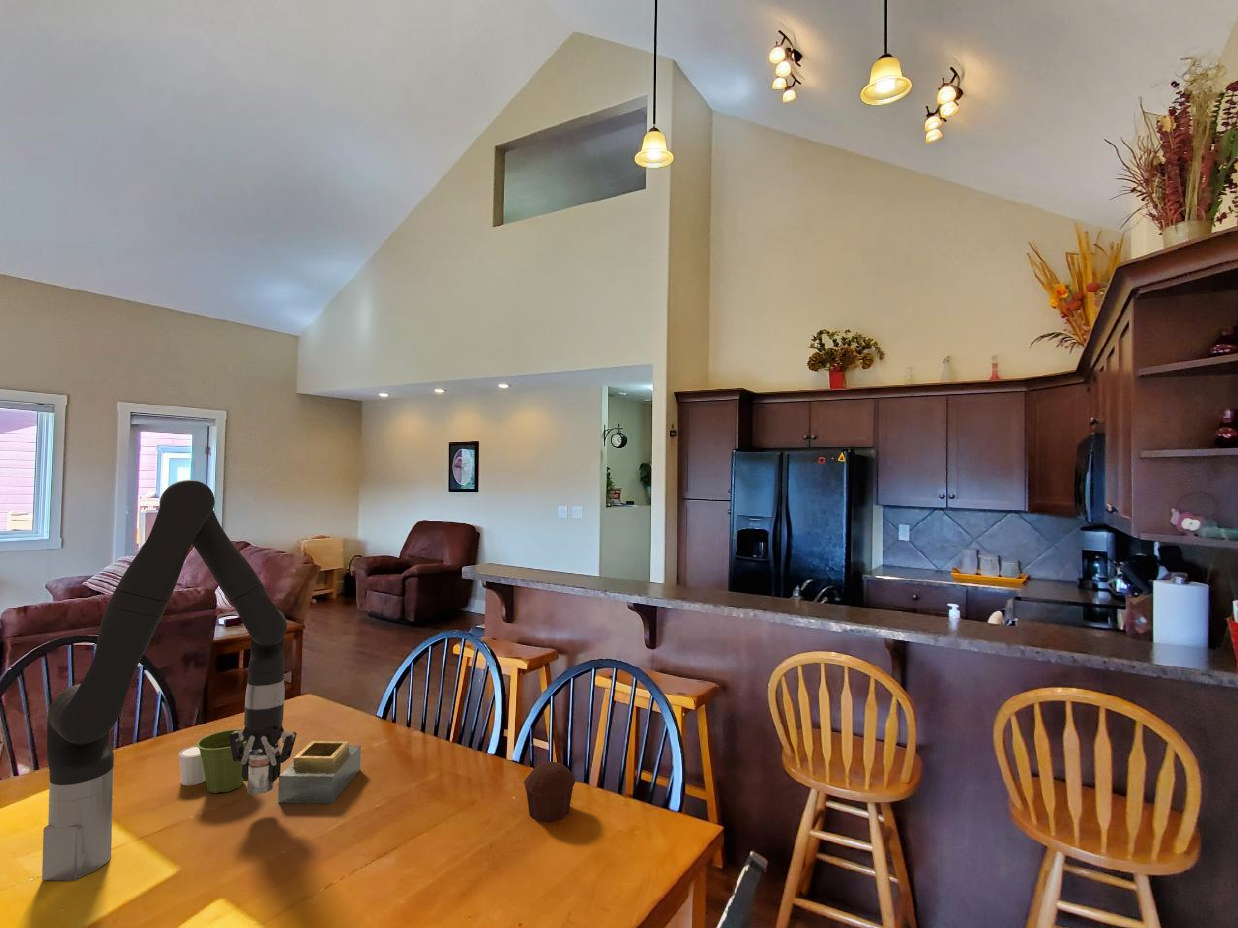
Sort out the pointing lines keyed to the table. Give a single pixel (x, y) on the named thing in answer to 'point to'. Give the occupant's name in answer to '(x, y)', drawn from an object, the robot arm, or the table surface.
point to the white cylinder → (191, 766)
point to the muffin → (549, 791)
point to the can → (259, 773)
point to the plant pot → (220, 762)
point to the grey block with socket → (319, 772)
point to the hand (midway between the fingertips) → (260, 779)
